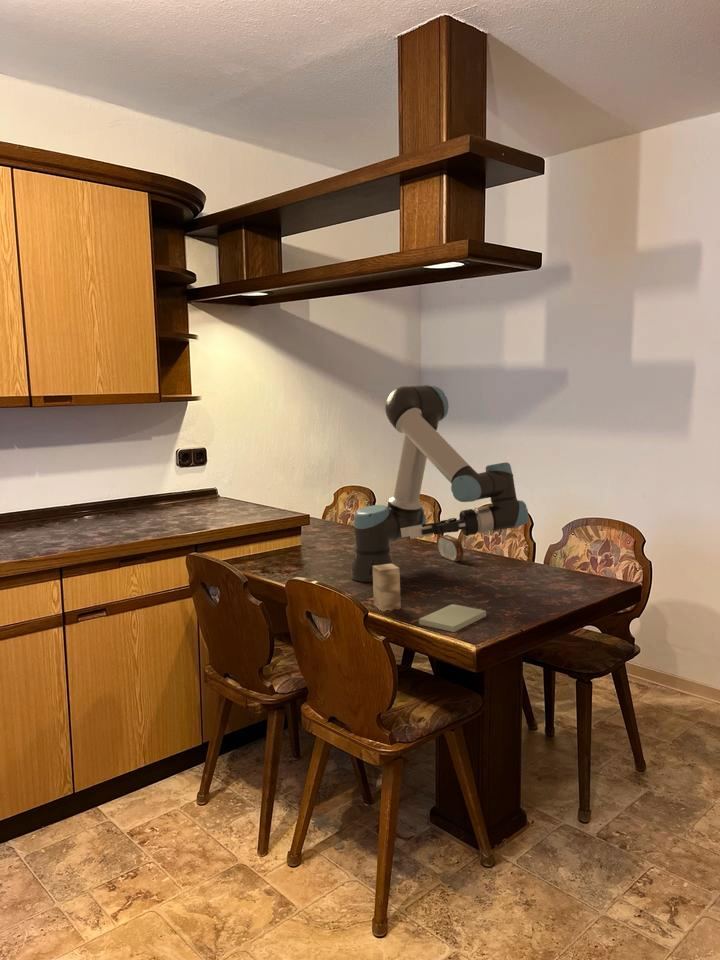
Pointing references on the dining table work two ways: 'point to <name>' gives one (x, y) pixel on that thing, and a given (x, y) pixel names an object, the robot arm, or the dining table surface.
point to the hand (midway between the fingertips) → (405, 533)
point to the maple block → (386, 587)
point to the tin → (450, 548)
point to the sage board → (452, 617)
